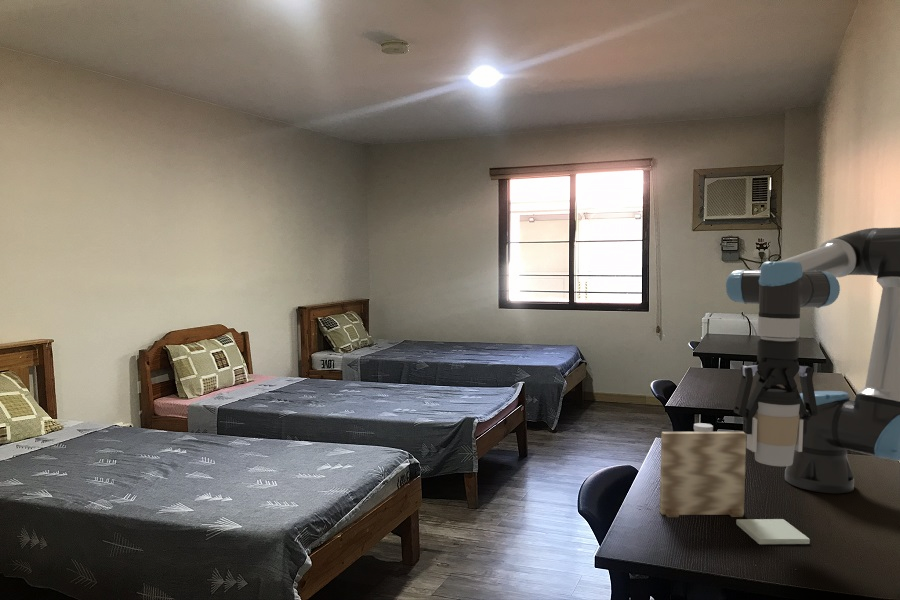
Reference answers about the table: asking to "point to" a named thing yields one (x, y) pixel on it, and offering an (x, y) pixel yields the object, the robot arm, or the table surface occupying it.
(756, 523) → the mat
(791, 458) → the coffee cup
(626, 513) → the table surface
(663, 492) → the screen
